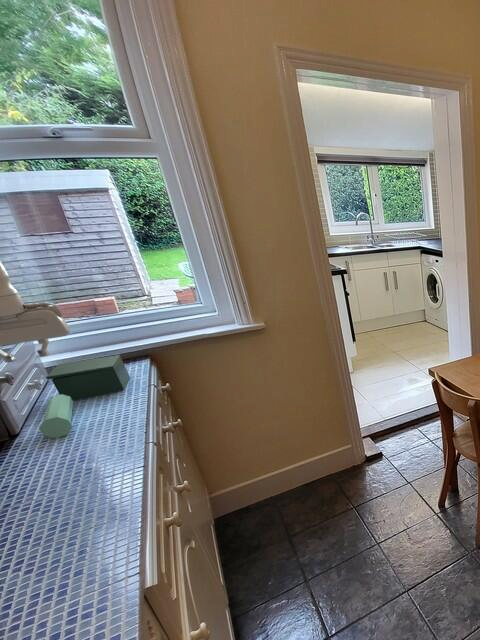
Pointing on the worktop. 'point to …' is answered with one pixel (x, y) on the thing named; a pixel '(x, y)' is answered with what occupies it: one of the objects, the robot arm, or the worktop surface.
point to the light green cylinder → (58, 417)
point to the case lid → (83, 366)
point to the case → (93, 382)
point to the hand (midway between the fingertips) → (28, 358)
